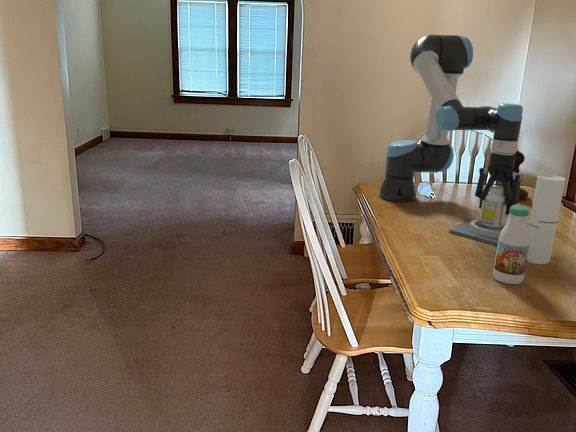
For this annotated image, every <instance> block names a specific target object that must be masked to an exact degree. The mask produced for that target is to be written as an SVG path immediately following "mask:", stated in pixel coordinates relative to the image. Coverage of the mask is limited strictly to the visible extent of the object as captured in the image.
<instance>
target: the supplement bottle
mask: <svg viewBox="0 0 576 432" xmlns="http://www.w3.org/2000/svg"><path fill="white" fill-rule="evenodd" d="M496 186H497V185H496ZM496 186H494V185H493V186H492V187H490V192H489V194H488V195H487V196H486V199H485V207H484V213H483V221H482V223H483V224H484V225H485V226H488V227H494V228H499V227H502V226H503V225H502V224H501V219H502V213H503V207H504V205H505V204H506V199H505V196H504V189H503V187H496Z"/></svg>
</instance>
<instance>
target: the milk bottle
mask: <svg viewBox="0 0 576 432" xmlns="http://www.w3.org/2000/svg"><path fill="white" fill-rule="evenodd" d="M529 213H530V209H529V208H528V207H525V206H520V205H512V207H510V211H509V215H508V216H509V218H508V219H507V224H506V225H505V226H504V228H503V229H502V231H501V233H500V236H499V240H498V245H497V246H496V252H495V259H494V264H493V271H492V277H493V278H494V280H496V281H498V282H500V283H502V284H507V285H519V284H522V283H523V282H524V280H525V279H524V278H525V274H526V269H527V263H528V261H527V258H528V252H529V245H530V234H529V231H528V227H529V226H528V224H527V223H528V222H527V220H528V218H529V215H530V214H529Z"/></svg>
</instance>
